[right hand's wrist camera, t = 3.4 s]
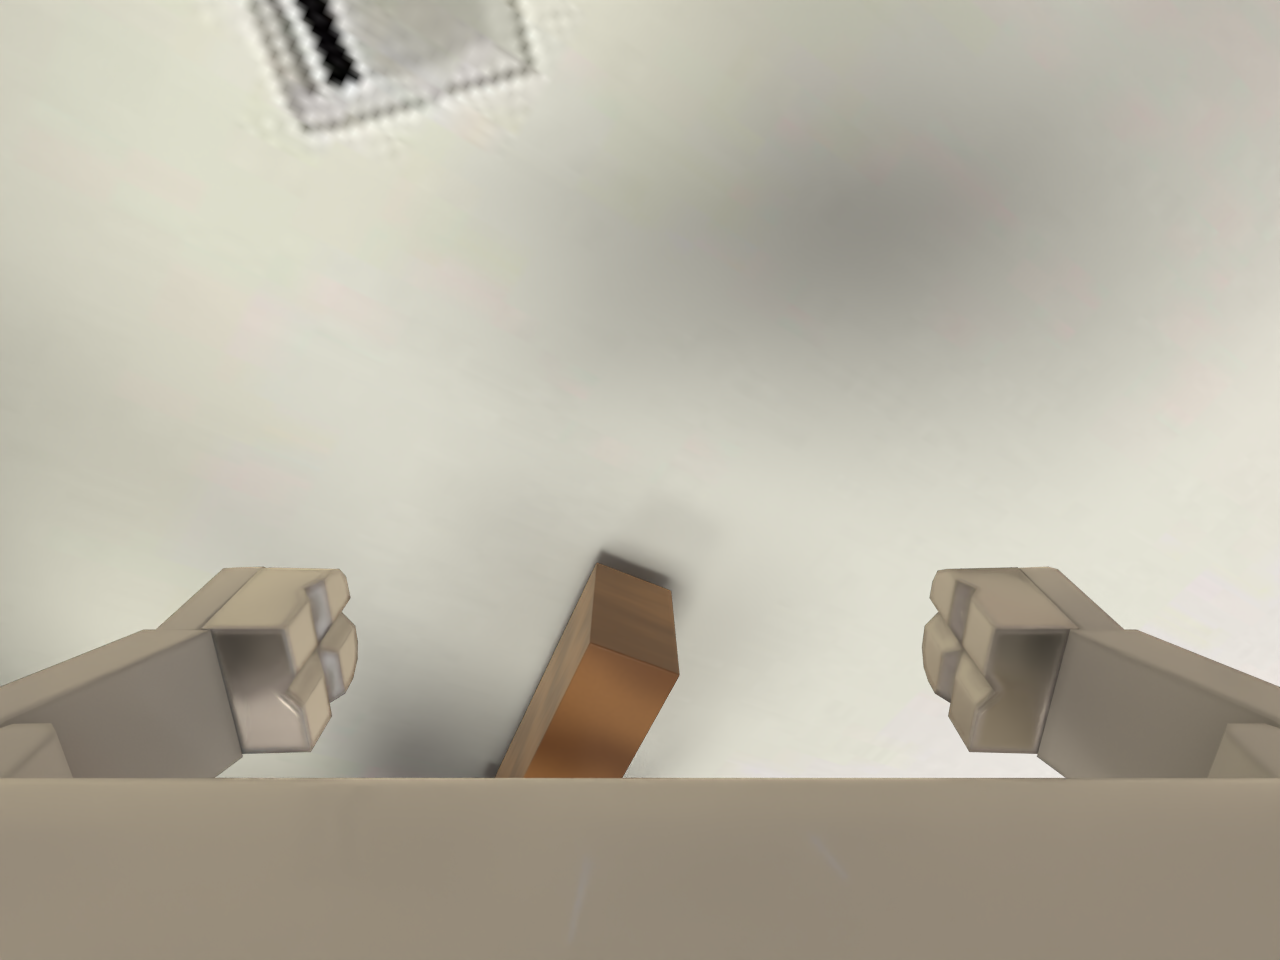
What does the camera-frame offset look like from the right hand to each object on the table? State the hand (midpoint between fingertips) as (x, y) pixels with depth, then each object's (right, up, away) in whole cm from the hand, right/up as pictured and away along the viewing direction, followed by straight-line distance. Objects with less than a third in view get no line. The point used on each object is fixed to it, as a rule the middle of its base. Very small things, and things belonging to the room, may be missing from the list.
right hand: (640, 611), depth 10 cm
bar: (-5, -13, +36) cm, 39 cm away
